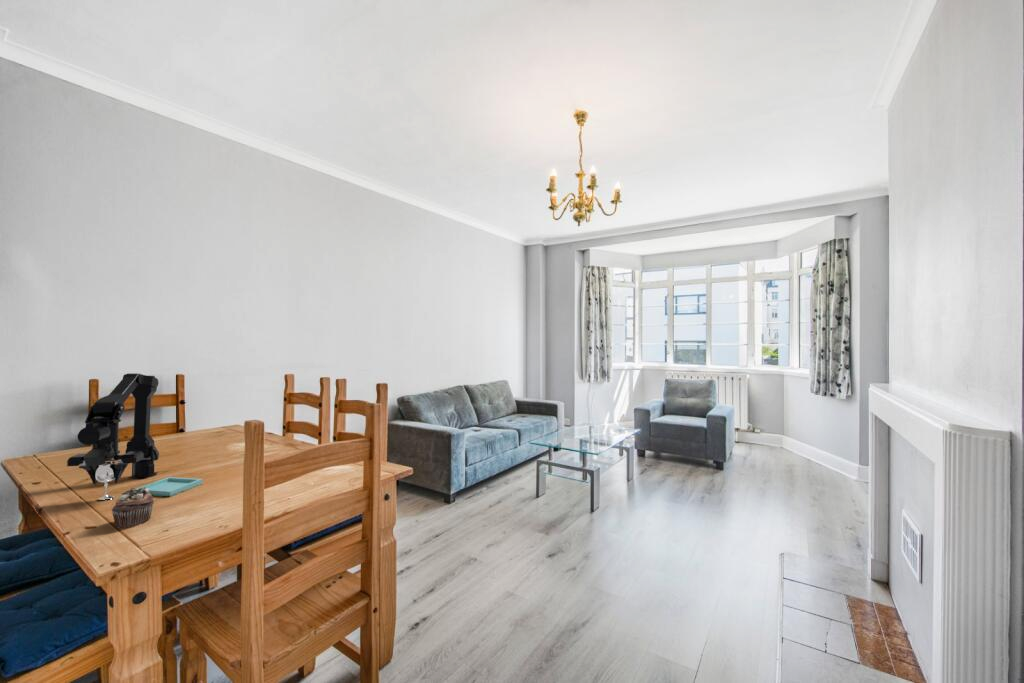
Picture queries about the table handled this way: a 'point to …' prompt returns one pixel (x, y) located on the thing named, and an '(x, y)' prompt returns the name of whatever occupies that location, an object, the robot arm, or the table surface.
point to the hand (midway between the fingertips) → (106, 483)
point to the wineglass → (105, 475)
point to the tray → (171, 486)
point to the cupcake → (133, 508)
